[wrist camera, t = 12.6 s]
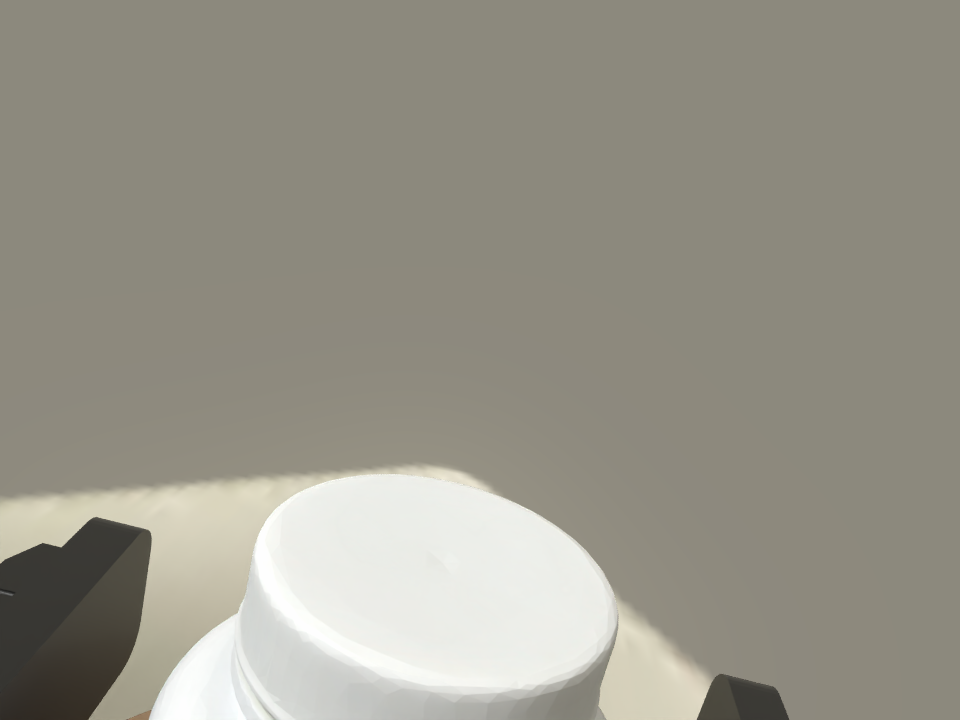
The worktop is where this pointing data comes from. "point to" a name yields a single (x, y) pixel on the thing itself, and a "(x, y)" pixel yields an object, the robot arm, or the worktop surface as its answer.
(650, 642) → the worktop surface
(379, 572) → the supplement bottle
